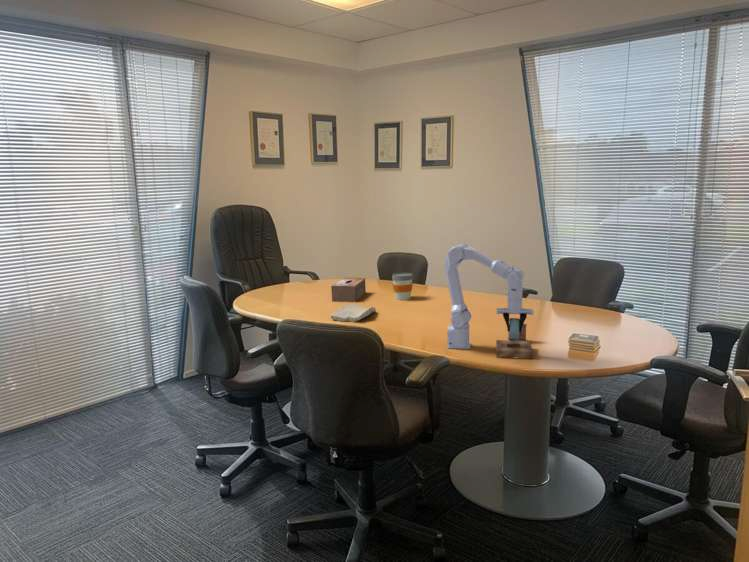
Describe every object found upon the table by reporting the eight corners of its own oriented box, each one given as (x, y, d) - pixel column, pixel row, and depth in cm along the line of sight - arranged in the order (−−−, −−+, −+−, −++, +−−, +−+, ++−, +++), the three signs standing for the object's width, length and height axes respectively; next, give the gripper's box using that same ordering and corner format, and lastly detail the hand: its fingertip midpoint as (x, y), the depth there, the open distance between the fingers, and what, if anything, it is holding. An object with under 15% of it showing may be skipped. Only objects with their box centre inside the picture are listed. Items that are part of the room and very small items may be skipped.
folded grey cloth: (381, 314, 297) (349, 308, 304) (382, 301, 295) (349, 295, 302) (362, 327, 275) (328, 320, 283) (363, 313, 273) (328, 306, 281)
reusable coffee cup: (388, 299, 327) (388, 275, 324) (399, 295, 337) (399, 271, 334) (406, 301, 320) (405, 276, 317) (417, 297, 330) (416, 273, 327)
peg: (508, 339, 221) (509, 320, 219) (509, 336, 224) (510, 317, 223) (518, 339, 219) (519, 320, 218) (519, 336, 223) (520, 318, 221)
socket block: (496, 357, 218) (496, 350, 218) (496, 346, 232) (496, 340, 231) (532, 358, 215) (532, 351, 215) (530, 348, 229) (530, 341, 228)
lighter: (524, 339, 241) (525, 317, 239) (527, 341, 238) (527, 319, 236) (506, 340, 241) (507, 318, 239) (509, 342, 237) (509, 320, 236)
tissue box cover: (344, 292, 351) (343, 277, 349) (365, 293, 347) (365, 278, 345) (332, 301, 326) (331, 285, 324) (355, 302, 323) (354, 286, 321)
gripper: (496, 300, 217) (496, 333, 219) (534, 301, 214) (533, 334, 216) (496, 296, 223) (496, 328, 226) (533, 297, 220) (532, 329, 223)
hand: (514, 331), depth 222 cm, fingers closed on peg, 4 cm apart
